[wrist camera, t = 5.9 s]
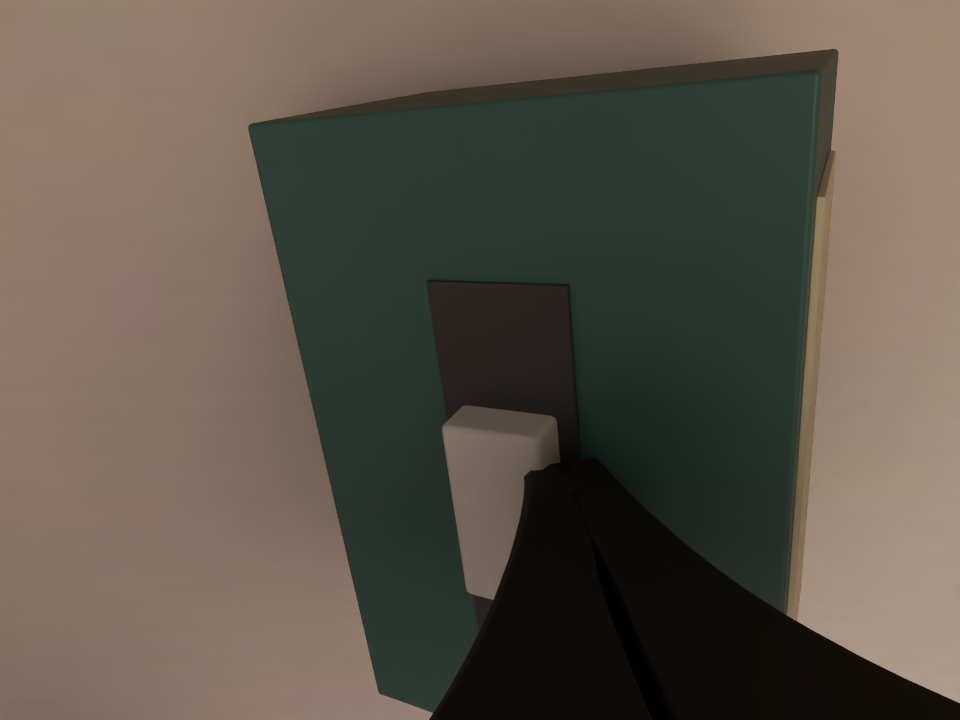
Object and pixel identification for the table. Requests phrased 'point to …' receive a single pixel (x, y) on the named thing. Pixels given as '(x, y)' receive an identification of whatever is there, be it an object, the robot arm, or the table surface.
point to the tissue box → (557, 322)
